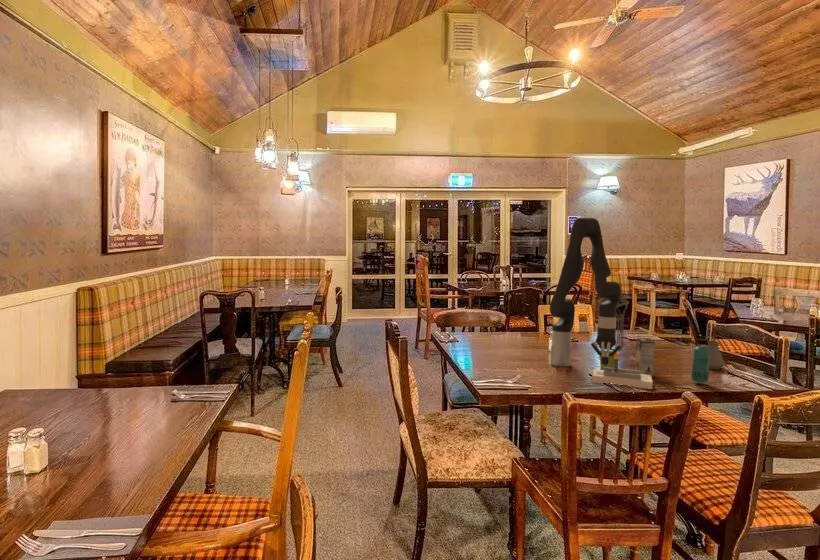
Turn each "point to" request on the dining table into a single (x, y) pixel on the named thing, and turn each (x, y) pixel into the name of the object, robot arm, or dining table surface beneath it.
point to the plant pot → (610, 361)
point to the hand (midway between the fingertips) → (604, 364)
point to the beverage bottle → (701, 362)
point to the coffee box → (645, 356)
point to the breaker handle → (616, 362)
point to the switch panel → (622, 377)
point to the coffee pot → (712, 354)
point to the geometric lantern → (618, 319)
